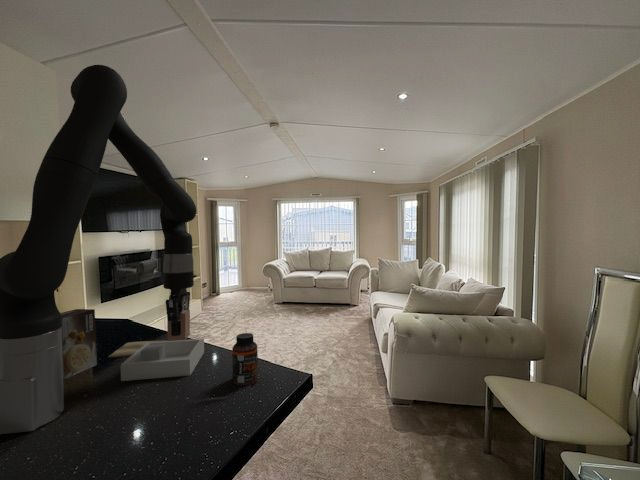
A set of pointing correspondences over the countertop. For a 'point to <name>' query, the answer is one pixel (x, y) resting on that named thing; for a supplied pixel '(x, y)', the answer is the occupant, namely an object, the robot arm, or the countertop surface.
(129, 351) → the board
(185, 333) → the labelled block
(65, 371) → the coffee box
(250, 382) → the supplement bottle
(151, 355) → the plain block
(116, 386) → the countertop surface
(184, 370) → the bin
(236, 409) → the countertop surface
